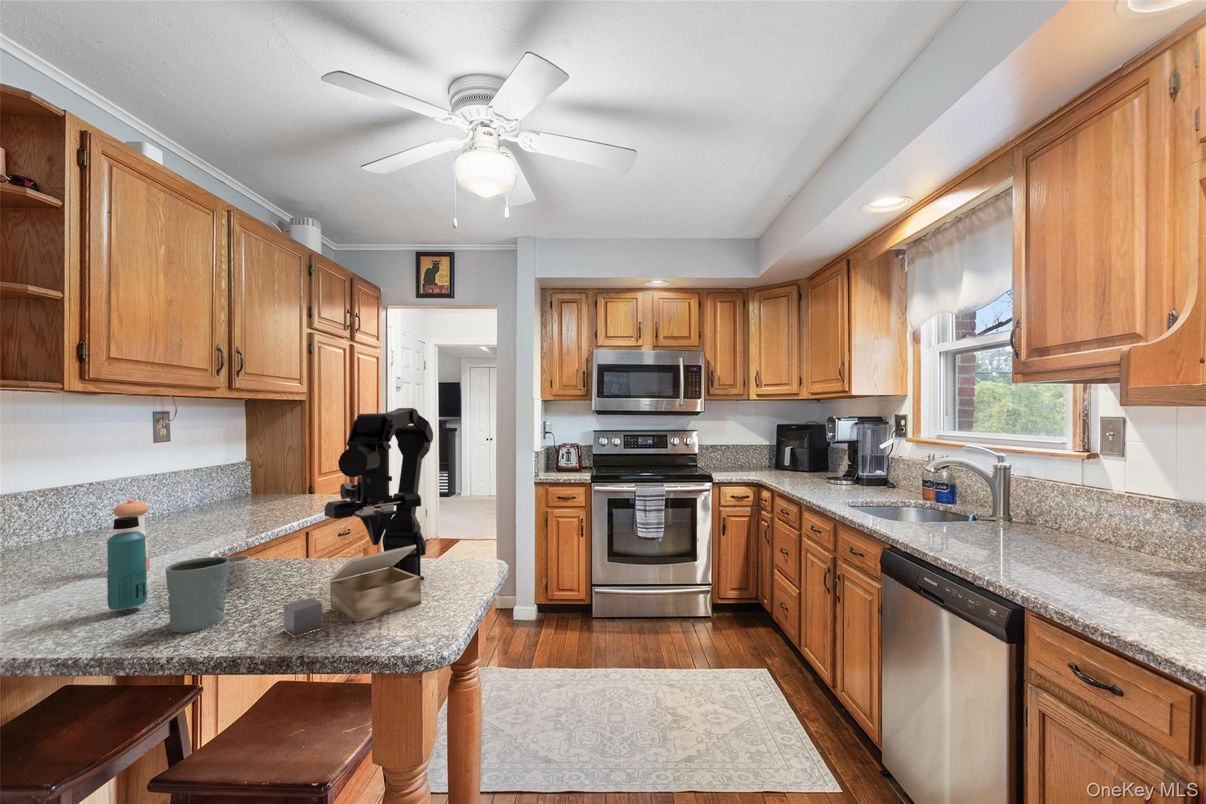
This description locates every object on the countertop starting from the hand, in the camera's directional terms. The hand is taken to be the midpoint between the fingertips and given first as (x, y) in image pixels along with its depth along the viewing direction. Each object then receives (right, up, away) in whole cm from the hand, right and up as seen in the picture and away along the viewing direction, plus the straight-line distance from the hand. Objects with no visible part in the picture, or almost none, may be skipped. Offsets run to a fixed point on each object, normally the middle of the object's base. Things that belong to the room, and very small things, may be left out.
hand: (375, 544), depth 116 cm
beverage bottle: (-52, -14, -1) cm, 54 cm away
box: (0, -13, 0) cm, 13 cm away
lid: (-1, -4, +1) cm, 4 cm away
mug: (-41, -14, +13) cm, 45 cm away
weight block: (-9, -13, -12) cm, 20 cm away
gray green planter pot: (-32, -14, -8) cm, 36 cm away
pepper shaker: (-76, -15, +28) cm, 83 cm away
